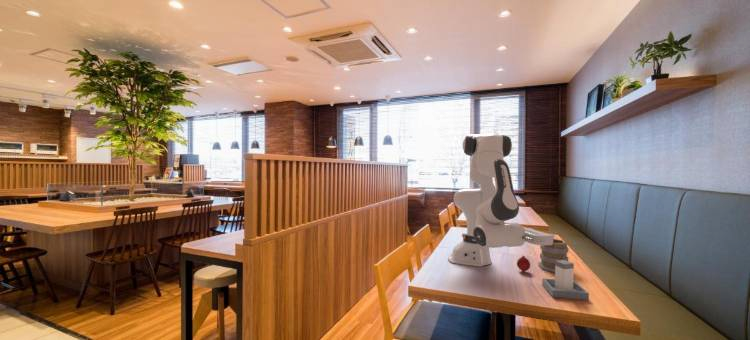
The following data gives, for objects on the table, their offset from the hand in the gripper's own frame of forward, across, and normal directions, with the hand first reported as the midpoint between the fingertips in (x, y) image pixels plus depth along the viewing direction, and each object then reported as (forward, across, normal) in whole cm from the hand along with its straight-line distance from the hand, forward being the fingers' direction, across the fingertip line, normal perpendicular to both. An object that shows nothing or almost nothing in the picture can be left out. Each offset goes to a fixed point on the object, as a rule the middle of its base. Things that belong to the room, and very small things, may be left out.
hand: (542, 233), depth 121 cm
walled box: (+11, -1, +24) cm, 27 cm away
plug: (+11, -1, +24) cm, 26 cm away
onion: (+13, +23, +25) cm, 36 cm away
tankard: (+32, +26, +25) cm, 48 cm away
